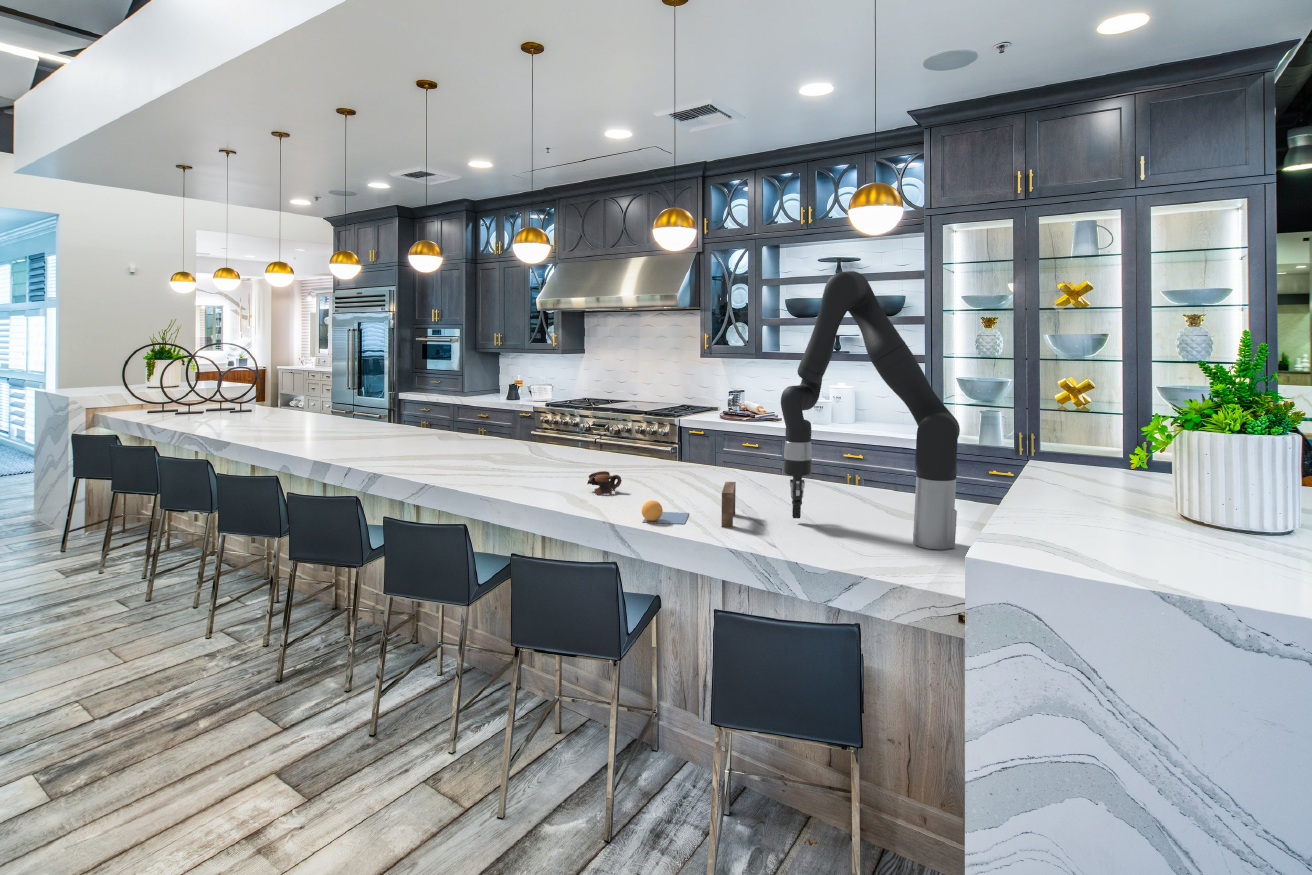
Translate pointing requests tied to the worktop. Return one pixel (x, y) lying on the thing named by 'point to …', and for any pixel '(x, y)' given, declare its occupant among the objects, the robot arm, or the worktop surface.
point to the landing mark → (670, 518)
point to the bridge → (728, 504)
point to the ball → (652, 510)
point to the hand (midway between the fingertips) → (796, 517)
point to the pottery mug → (604, 482)
